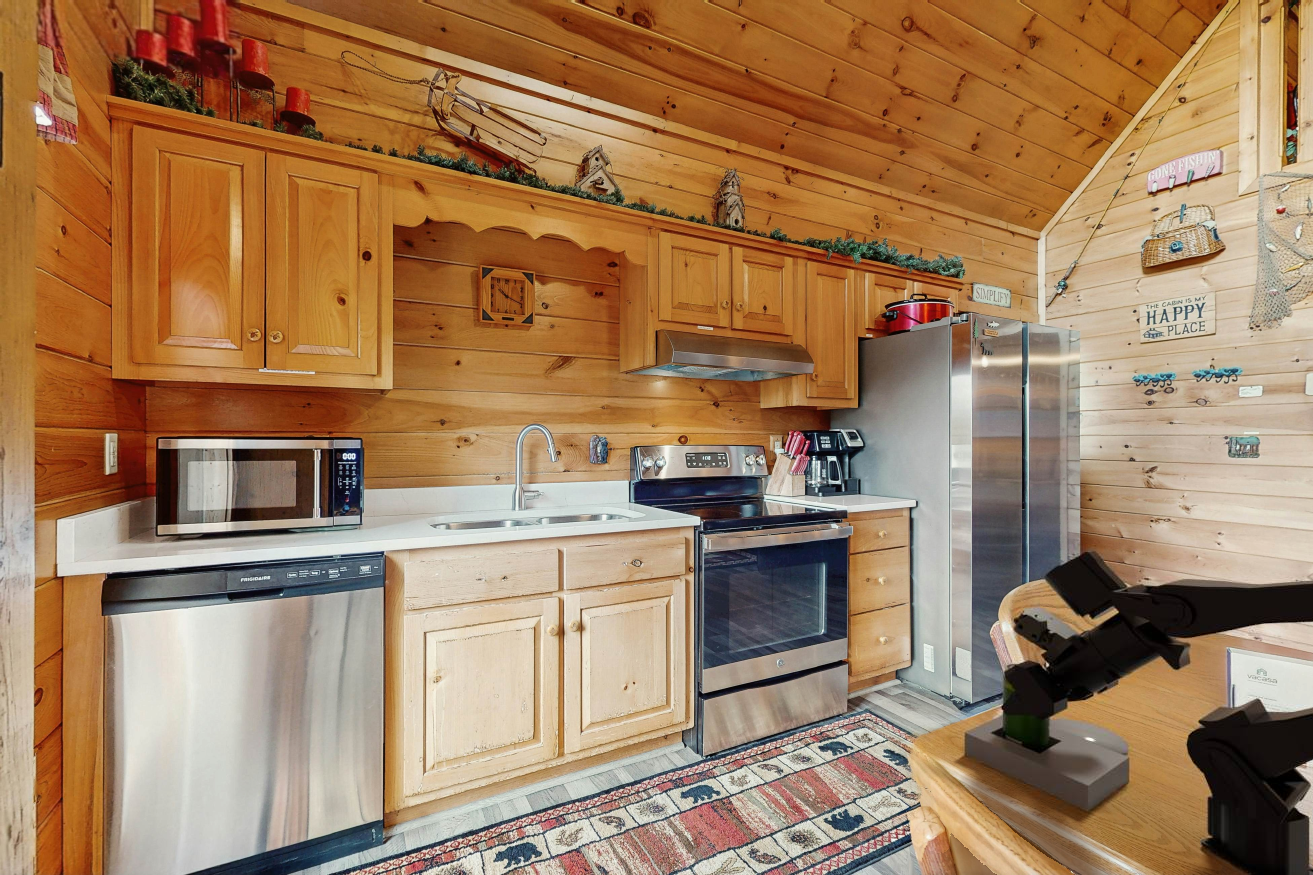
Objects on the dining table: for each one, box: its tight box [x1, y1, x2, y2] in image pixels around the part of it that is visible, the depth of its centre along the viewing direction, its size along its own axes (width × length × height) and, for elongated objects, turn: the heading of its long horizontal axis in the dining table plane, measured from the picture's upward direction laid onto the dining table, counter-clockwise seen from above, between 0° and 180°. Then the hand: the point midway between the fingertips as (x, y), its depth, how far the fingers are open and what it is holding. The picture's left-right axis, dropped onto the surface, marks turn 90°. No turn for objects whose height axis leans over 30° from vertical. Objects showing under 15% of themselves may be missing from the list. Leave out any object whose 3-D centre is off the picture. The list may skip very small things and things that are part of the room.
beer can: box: [1002, 663, 1051, 754], centre depth 78 cm, size 5×5×12 cm
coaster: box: [1050, 718, 1130, 756], centre depth 84 cm, size 10×10×1 cm
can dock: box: [964, 714, 1130, 812], centre depth 76 cm, size 14×12×3 cm
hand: (1015, 706), depth 79 cm, fingers closed on beer can, 5 cm apart
